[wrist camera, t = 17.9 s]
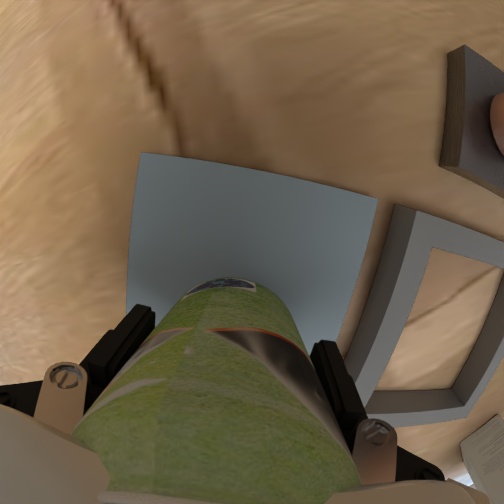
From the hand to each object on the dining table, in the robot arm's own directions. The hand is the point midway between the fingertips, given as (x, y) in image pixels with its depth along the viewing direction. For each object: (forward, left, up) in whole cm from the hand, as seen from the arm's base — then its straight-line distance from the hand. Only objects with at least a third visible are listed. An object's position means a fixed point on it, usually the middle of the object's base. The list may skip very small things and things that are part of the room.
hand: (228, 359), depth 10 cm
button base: (-14, +14, -6) cm, 20 cm away
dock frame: (0, +14, -6) cm, 15 cm away
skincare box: (+15, +32, -6) cm, 36 cm away
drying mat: (0, 0, -6) cm, 6 cm away
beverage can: (0, 0, -4) cm, 4 cm away
